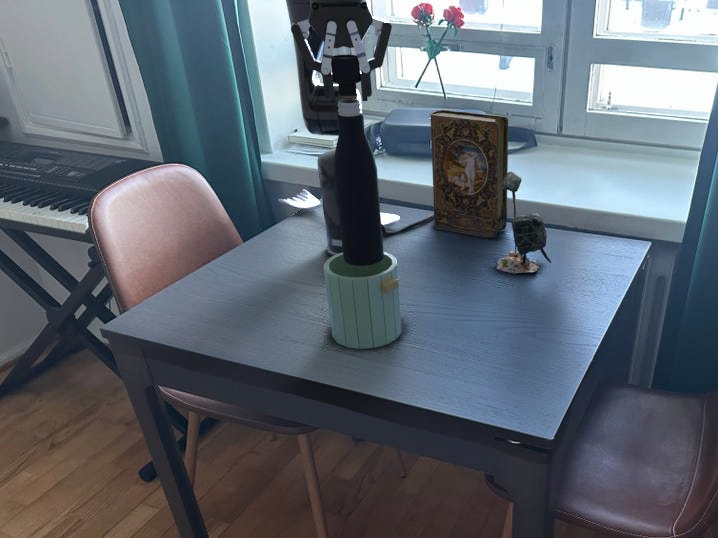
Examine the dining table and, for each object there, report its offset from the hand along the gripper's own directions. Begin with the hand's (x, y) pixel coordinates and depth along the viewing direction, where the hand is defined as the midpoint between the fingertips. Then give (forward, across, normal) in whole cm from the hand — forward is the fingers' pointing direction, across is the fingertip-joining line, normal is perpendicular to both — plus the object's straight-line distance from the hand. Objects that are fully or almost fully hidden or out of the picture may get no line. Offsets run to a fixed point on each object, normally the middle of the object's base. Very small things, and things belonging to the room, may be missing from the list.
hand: (348, 100), depth 99 cm
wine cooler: (+38, +1, 0) cm, 38 cm away
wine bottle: (+24, 0, 0) cm, 24 cm away
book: (+38, -25, -42) cm, 62 cm away
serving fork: (+38, +3, -55) cm, 67 cm away
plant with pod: (+38, -32, -19) cm, 53 cm away
